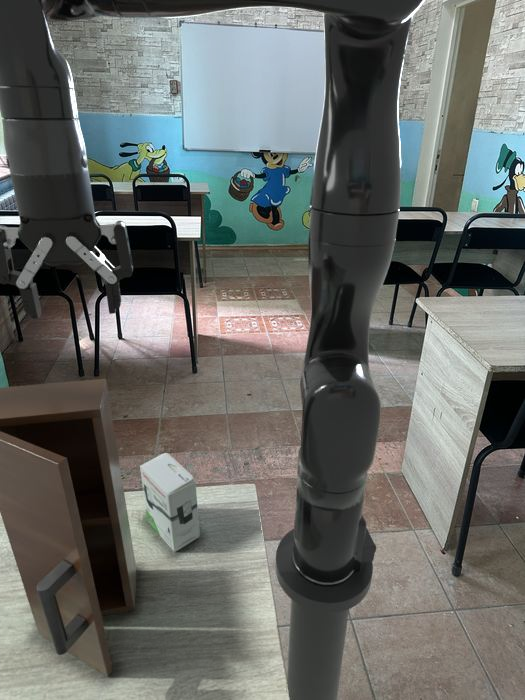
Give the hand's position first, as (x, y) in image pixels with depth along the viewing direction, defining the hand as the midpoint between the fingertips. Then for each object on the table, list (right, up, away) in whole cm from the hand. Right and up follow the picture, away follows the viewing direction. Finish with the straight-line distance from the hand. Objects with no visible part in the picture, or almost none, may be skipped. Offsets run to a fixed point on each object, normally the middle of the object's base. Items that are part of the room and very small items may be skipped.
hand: (75, 313), depth 56 cm
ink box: (+8, -33, +20) cm, 39 cm away
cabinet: (-1, -38, +9) cm, 39 cm away
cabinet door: (-2, -42, +1) cm, 42 cm away
